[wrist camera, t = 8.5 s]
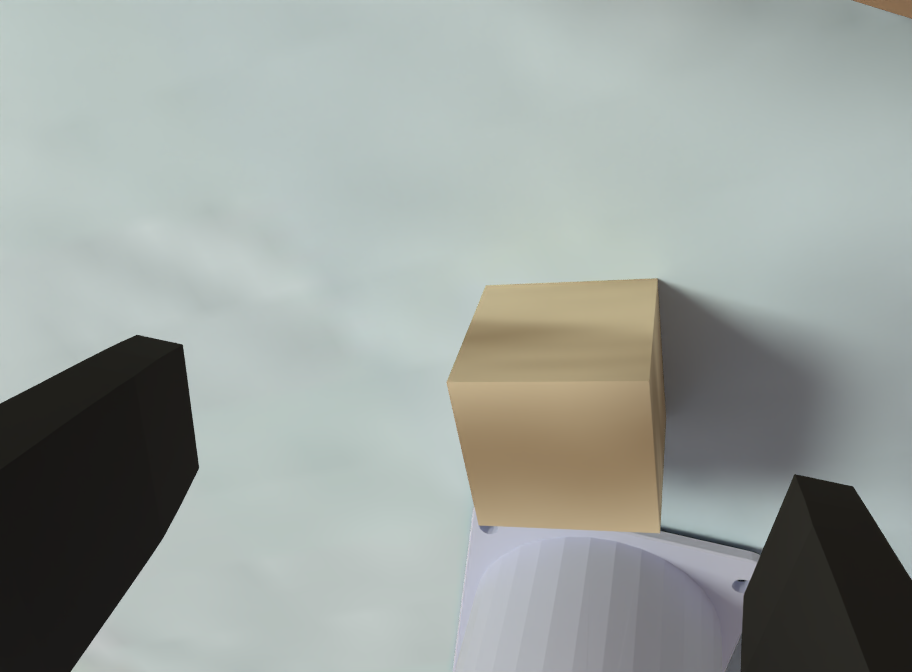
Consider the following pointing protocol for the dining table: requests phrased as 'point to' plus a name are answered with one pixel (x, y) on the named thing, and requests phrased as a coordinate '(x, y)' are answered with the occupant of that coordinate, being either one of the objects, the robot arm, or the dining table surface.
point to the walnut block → (891, 6)
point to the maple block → (564, 406)
